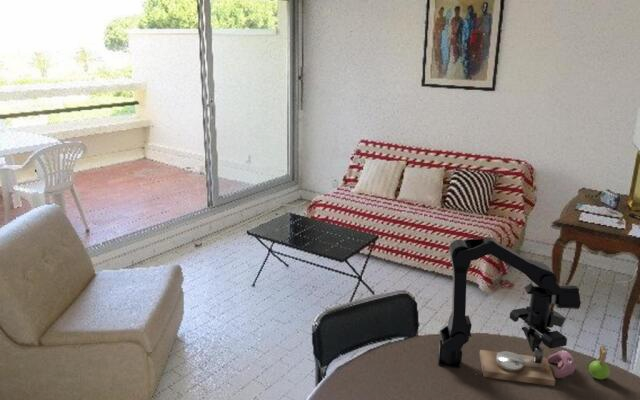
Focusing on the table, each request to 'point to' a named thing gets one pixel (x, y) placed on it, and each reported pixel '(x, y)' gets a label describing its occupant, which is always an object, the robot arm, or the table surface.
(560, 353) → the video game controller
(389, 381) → the table surface
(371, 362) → the table surface
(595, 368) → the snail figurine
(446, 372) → the table surface
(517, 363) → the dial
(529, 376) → the stand
